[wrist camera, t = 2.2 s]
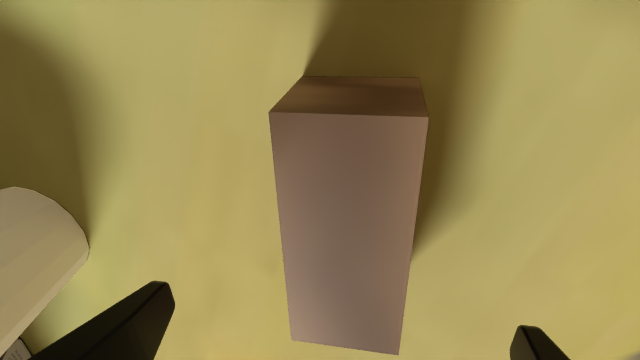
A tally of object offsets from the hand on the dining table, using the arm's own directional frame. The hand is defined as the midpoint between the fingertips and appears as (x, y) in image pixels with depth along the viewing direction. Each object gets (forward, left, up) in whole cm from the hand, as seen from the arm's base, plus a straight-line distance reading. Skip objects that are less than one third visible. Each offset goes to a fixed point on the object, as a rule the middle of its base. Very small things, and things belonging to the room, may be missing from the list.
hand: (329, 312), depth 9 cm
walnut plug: (0, -1, -6) cm, 6 cm away
